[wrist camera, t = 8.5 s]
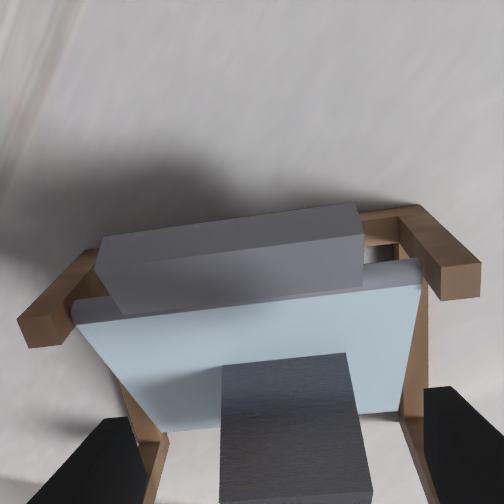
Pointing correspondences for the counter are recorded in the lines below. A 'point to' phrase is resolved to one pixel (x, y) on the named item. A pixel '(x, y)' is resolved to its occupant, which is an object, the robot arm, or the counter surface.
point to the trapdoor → (248, 308)
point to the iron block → (291, 434)
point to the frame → (375, 233)
